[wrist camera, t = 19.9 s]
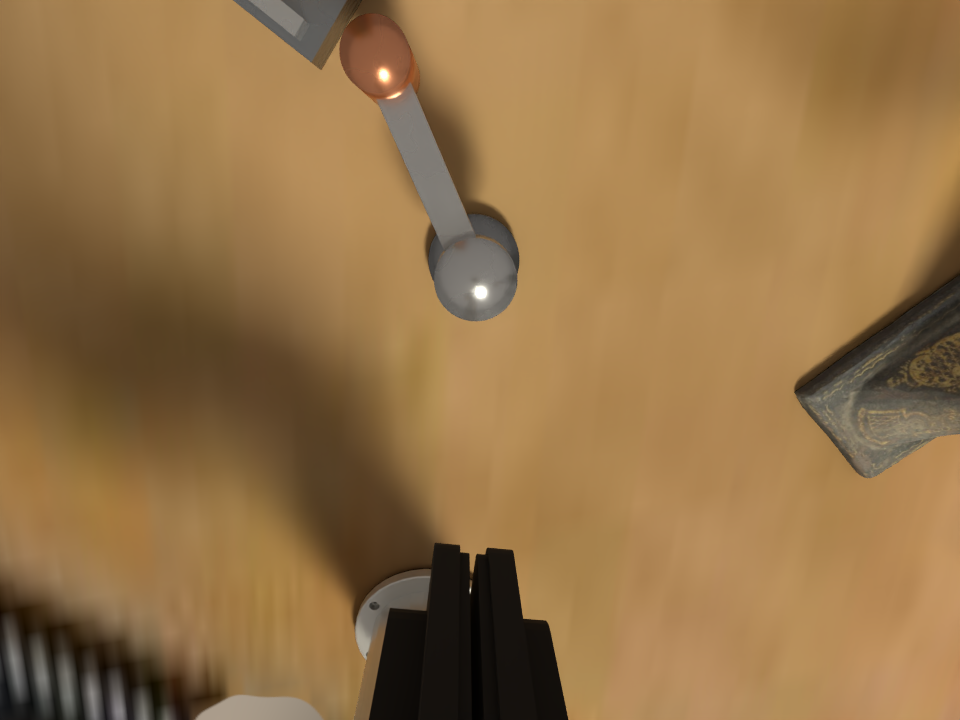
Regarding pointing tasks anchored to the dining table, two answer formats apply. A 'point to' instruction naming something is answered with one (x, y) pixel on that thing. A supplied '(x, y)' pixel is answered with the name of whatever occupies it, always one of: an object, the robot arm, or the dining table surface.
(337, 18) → the plate
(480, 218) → the lever post
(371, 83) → the press lever
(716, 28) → the dining table surface
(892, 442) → the embossing press
